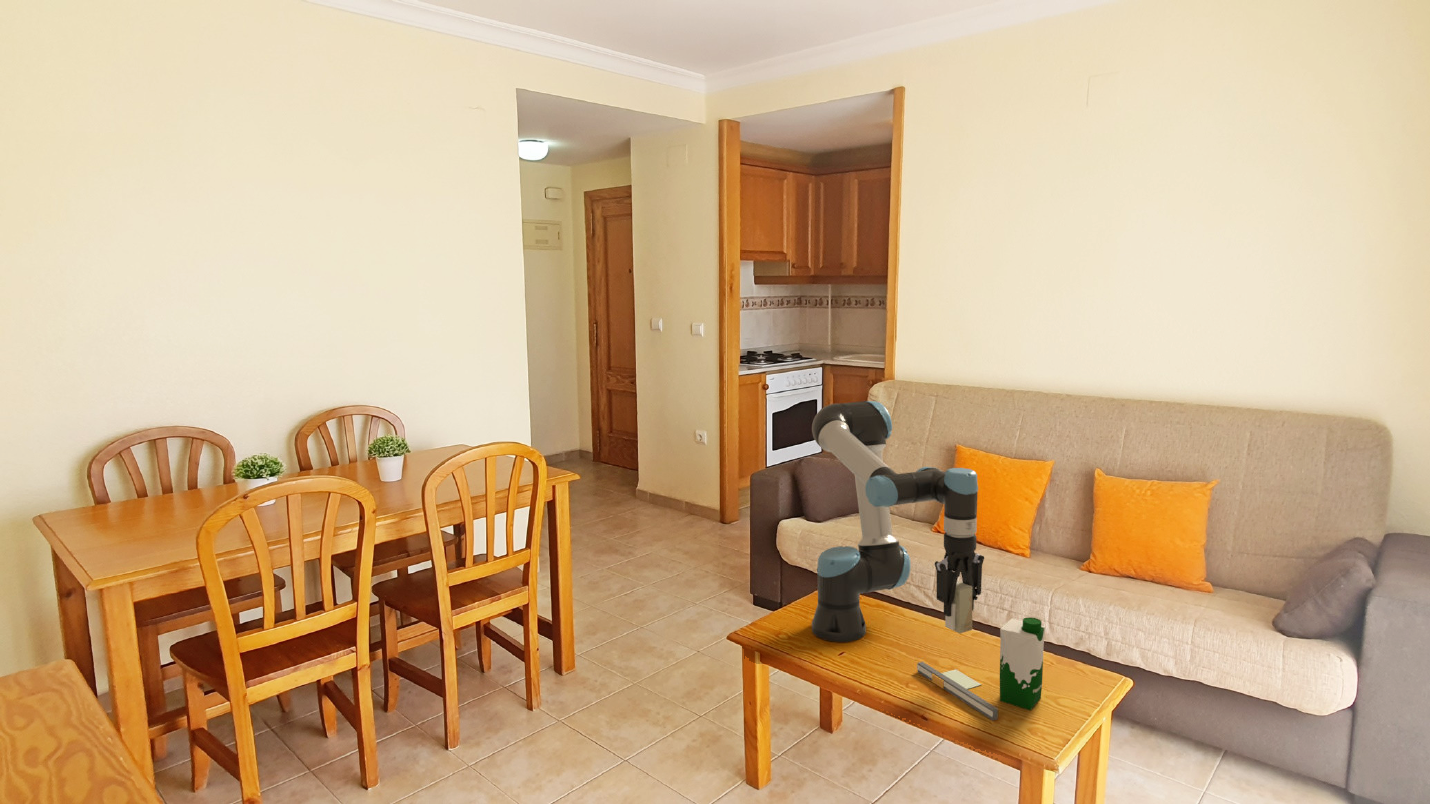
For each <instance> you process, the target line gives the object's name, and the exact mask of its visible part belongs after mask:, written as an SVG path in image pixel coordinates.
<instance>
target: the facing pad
mask: <svg viewBox="0 0 1430 804" xmlns="http://www.w3.org/2000/svg"><path fill="white" fill-rule="evenodd" d="M941 673H942V674H943V675H945V676H946V677H948V678H950V679H951V680H953V681H955V682H956V683H958V684H959V685H961V686H963V687H964V688H966V689H967V690H969V689H973V688H977V687H980V686H982V684H981V683H980V682H978V681H976V680H974V679H973V678H972V677H969V676H968V675H966V674H964V672H961V671H960V670H958V669H953V670H952V669H951V670H948V671H945V672H941Z"/></svg>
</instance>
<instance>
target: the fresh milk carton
mask: <svg viewBox="0 0 1430 804" xmlns="http://www.w3.org/2000/svg"><path fill="white" fill-rule="evenodd" d="M999 632H1000V635H999V636H1000V637H999V638H1000V647H999V648H1000V651H999V654H1000V655H999V701H1000V702H1002V703H1005V704H1007V705H1008V704H1009V705H1011V706H1014V707H1018V708H1021V709H1025V710H1028V711H1032V709H1033V708H1034V707H1035V706H1036V705H1037V704H1038V703H1039V701H1040V700H1041V699H1042V690H1043V671H1044V645H1045V635H1046V634H1045V633H1046V625H1042V620H1041V619H1038V618H1036V617H1031V616H1030V617H1024V618H1023V619H1022V620H1020V619H1016V618H1010V619H1009V620H1007V622H1006V623H1005V624H1004V625H1003V626H1002V627H1000V630H999Z"/></svg>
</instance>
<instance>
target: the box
mask: <svg viewBox="0 0 1430 804" xmlns="http://www.w3.org/2000/svg"><path fill="white" fill-rule="evenodd" d="M953 603H955V604H956V614H955V630H952V631H954V632H956V633H958V634H963V633H967V632H969V631H972V630H973V611H972V586H970V585H967V584H965V583H963V581H960V580H957V584H956V589H955V594H954V599H953ZM946 628H947V629H949V630H951V629H950V628H948V627H946Z"/></svg>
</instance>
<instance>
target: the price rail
mask: <svg viewBox="0 0 1430 804" xmlns="http://www.w3.org/2000/svg"><path fill="white" fill-rule="evenodd" d="M916 670H917V673H918V674H919V675H921V676H923V677H924V678H925V679H927V680H929V681H931V682H932V683H933V684H934V685H937V686H938V687H940V689H943V690H945V691H946V692H947V693H949V694H950V695H952V696H954V697H955V698H956V699H958V700H960V701H962V702H963V703H965V704H966V705H967V706H969V707H971V708H972V709H974V710H975V711H977V712H979V713H980V714H982V715H983V716H985V717H986V718H987V719H989V720H991V721H996V720H998V719H999V718H998V717H999V716H998V715H999V708H998V707H996V706H995V705H994V704H991V703H990V702H989V701H987V700H985V699H984V698H982V697H980V696H979V695H977V694H975V693H974V692H972V691H970V690H969V689H966V688H964V687H963V686H961V685H959V684H958V683H956V682H955V681H953V680H951V679H950V678H948V677H946V676H945V675H943V674H942V673H943V672H940V671H939V670H937V669H935V668H934V667H932V666H931V665H928V664H927V663H926V662H924V661H920V662H917V665H916Z"/></svg>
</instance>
